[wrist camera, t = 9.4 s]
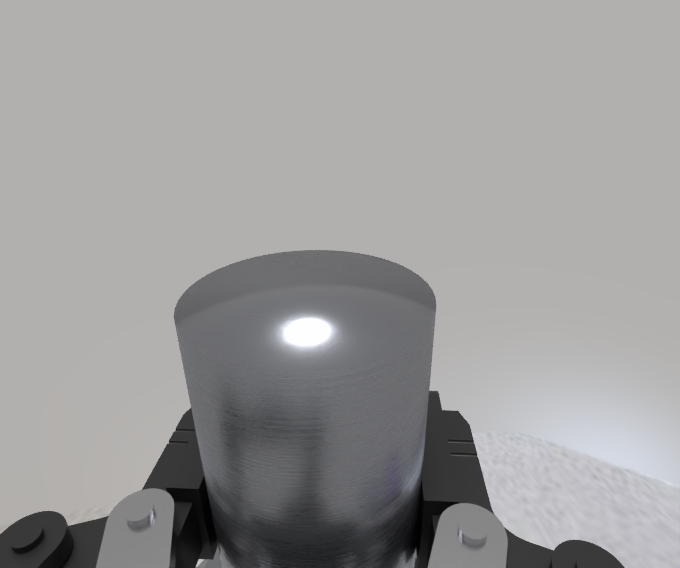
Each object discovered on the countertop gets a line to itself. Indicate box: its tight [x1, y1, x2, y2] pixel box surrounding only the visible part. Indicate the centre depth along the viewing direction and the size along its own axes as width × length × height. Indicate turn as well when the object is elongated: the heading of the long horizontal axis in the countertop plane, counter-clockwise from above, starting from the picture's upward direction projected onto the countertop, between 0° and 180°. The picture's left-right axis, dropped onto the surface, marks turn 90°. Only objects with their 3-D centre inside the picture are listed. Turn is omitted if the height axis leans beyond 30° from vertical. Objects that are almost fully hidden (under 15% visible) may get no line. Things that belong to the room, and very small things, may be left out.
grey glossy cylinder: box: [174, 250, 436, 568], centre depth 11 cm, size 5×5×11 cm
